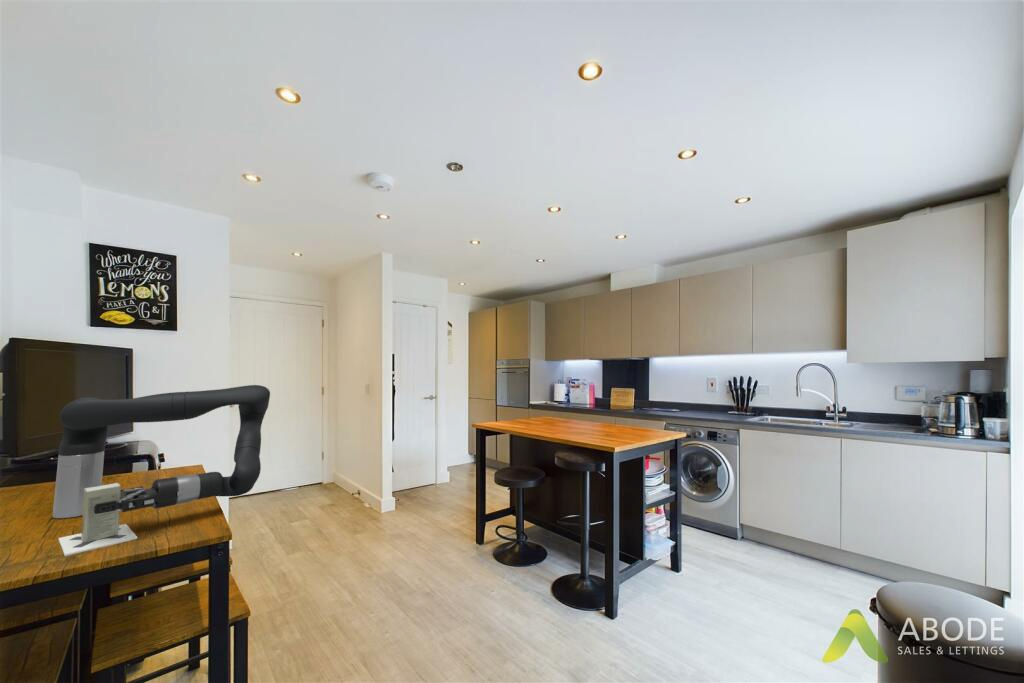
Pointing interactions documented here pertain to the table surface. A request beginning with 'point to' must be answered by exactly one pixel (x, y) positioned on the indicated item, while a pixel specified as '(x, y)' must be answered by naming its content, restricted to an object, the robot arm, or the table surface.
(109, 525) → the skincare box
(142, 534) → the table surface
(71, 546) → the letter card
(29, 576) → the table surface
